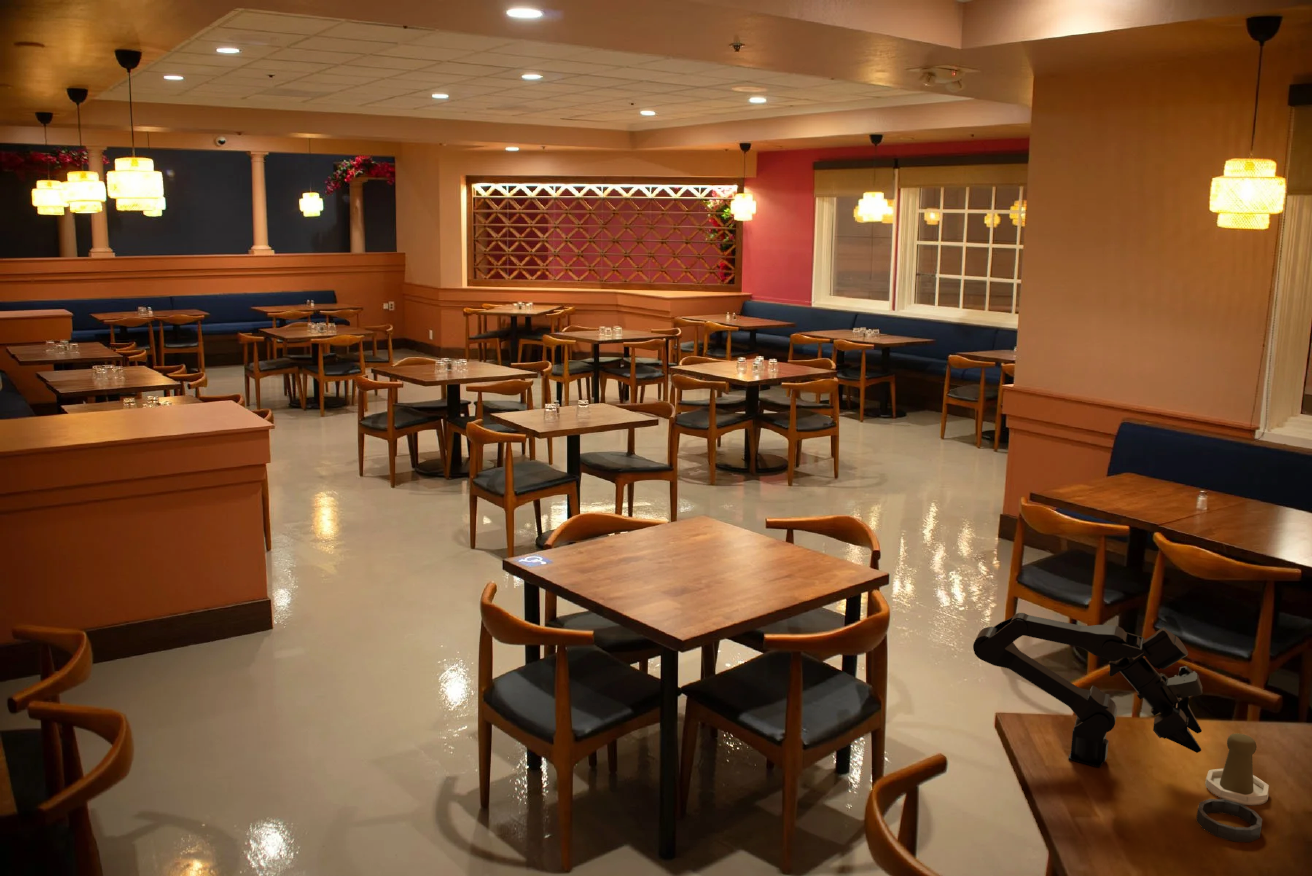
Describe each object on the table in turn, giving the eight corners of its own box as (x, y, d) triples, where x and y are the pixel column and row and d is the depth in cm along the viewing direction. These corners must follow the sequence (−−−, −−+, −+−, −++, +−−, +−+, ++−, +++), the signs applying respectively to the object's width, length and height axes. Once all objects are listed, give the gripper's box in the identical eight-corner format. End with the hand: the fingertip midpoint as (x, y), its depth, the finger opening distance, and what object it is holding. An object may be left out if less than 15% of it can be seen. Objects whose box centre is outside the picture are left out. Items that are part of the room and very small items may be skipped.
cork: (1260, 791, 210) (1267, 741, 208) (1237, 796, 208) (1243, 745, 206) (1235, 777, 216) (1241, 727, 213) (1212, 781, 214) (1218, 731, 212)
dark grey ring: (1193, 830, 198) (1195, 818, 197) (1200, 804, 207) (1202, 793, 206) (1257, 848, 192) (1259, 836, 192) (1262, 821, 201) (1263, 809, 200)
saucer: (1202, 794, 210) (1202, 786, 210) (1208, 770, 220) (1209, 762, 219) (1266, 811, 204) (1267, 802, 204) (1270, 786, 214) (1271, 778, 213)
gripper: (1178, 676, 205) (1235, 741, 202) (1180, 643, 221) (1233, 703, 218) (1130, 705, 210) (1185, 769, 207) (1136, 671, 226) (1187, 730, 223)
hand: (1199, 741), depth 214 cm, fingers open, 9 cm apart
